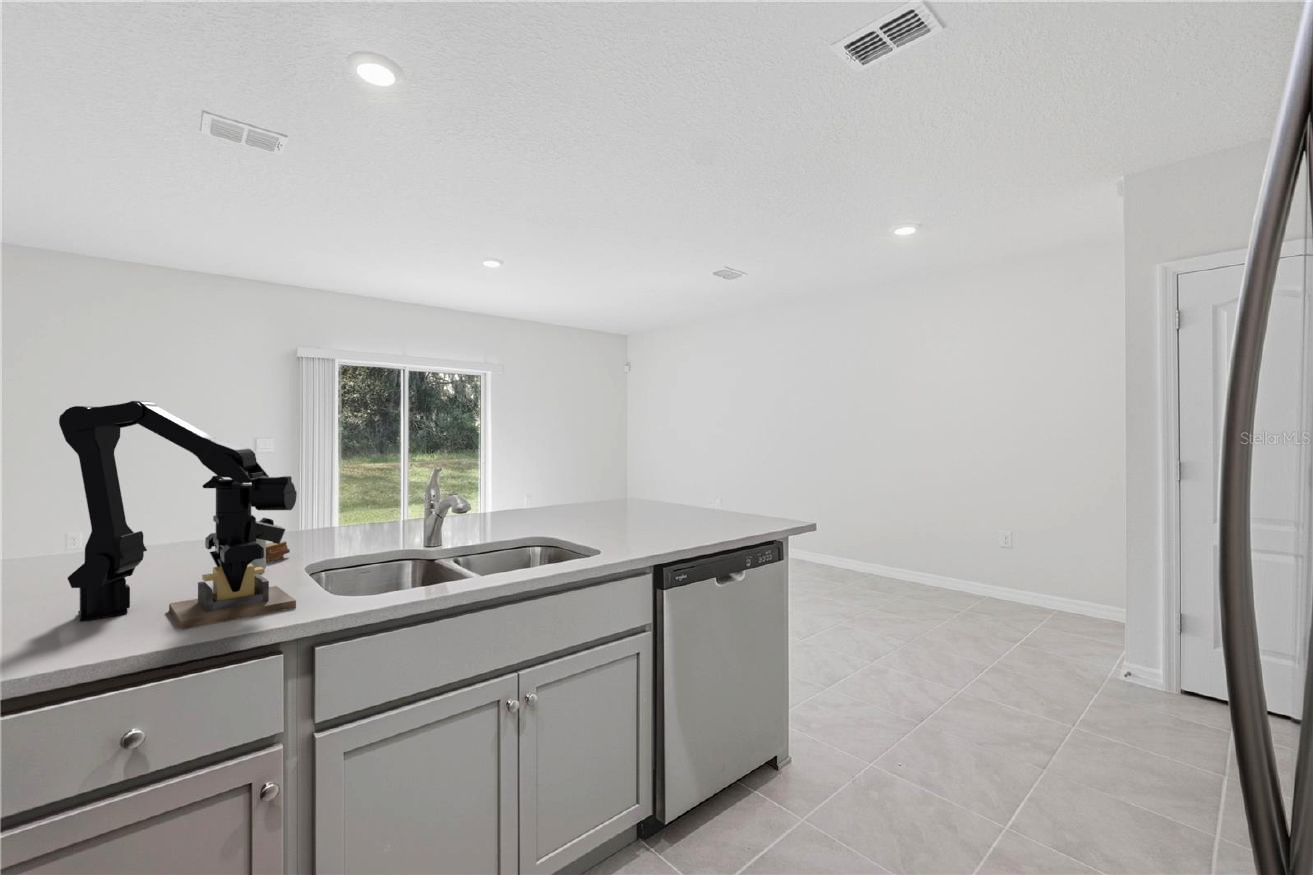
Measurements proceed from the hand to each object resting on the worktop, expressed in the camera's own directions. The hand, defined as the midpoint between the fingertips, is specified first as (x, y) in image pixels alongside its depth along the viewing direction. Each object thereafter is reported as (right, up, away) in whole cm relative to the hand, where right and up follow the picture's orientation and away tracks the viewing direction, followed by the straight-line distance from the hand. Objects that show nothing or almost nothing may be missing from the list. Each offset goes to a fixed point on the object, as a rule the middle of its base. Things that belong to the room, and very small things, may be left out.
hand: (233, 589), depth 115 cm
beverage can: (-16, -3, +27) cm, 32 cm away
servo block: (0, -2, 0) cm, 2 cm away
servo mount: (0, -4, 0) cm, 4 cm away
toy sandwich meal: (-23, -3, +41) cm, 47 cm away
